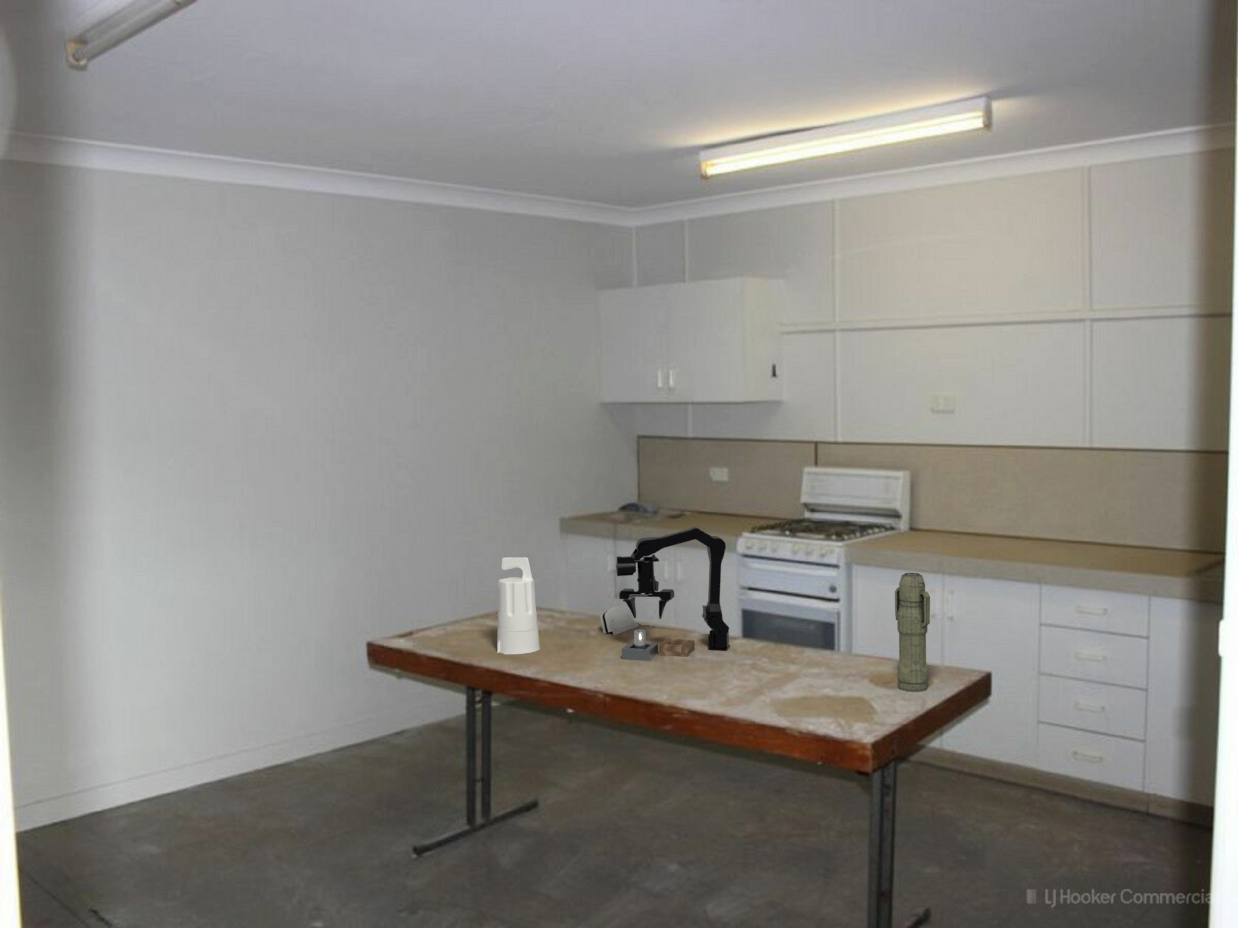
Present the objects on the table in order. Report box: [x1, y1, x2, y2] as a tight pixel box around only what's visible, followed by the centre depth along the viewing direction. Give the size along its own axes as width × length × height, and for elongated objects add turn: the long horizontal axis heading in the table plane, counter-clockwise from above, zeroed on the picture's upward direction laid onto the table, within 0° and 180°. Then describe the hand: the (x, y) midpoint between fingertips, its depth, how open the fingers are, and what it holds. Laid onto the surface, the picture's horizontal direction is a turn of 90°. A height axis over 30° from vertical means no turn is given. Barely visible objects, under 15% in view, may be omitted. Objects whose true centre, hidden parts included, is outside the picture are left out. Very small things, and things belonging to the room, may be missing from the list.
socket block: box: [658, 638, 696, 658], centre depth 392 cm, size 10×10×4 cm
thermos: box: [894, 572, 931, 693], centre depth 340 cm, size 9×12×35 cm
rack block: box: [621, 641, 659, 662], centre depth 388 cm, size 10×10×4 cm
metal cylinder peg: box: [633, 628, 647, 649], centre depth 388 cm, size 4×4×9 cm
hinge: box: [599, 605, 639, 636], centre depth 430 cm, size 17×5×10 cm, turn 145°
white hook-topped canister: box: [496, 556, 541, 656], centre depth 402 cm, size 15×15×33 cm
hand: (647, 618), depth 393 cm, fingers open, 9 cm apart
